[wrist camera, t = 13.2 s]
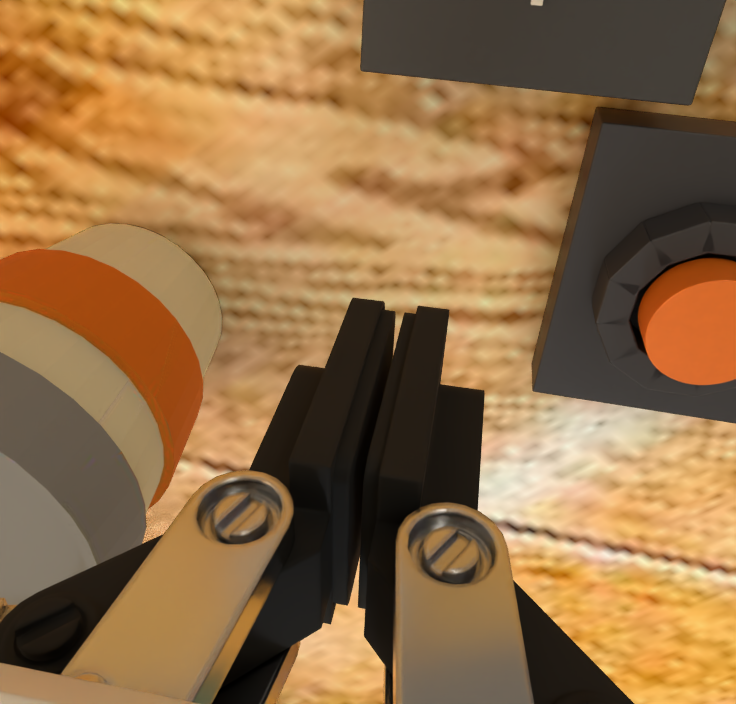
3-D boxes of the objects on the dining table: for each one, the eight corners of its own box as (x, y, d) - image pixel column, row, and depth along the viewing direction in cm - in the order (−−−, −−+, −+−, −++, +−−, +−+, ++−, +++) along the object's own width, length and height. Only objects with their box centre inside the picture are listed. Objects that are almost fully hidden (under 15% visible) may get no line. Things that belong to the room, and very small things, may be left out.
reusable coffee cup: (-25, 220, 33) (-343, 409, 21) (187, 155, 29) (-54, 342, 17) (103, 413, 39) (-84, 646, 27) (293, 382, 35) (174, 640, 23)
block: (595, 106, 25) (607, 137, 21) (882, 136, 23) (940, 174, 20) (531, 364, 31) (532, 417, 28) (749, 397, 30) (777, 457, 27)
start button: (658, 249, 24) (667, 271, 22) (787, 266, 23) (805, 290, 22) (623, 349, 26) (629, 375, 25) (739, 366, 26) (752, 394, 24)
